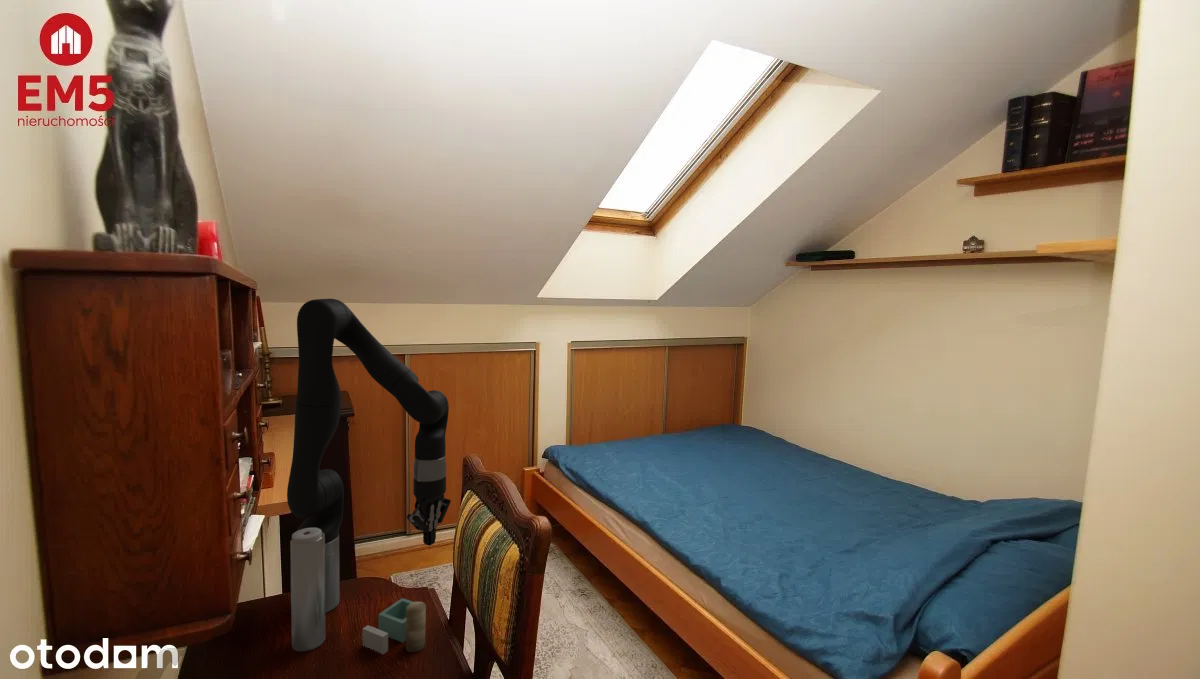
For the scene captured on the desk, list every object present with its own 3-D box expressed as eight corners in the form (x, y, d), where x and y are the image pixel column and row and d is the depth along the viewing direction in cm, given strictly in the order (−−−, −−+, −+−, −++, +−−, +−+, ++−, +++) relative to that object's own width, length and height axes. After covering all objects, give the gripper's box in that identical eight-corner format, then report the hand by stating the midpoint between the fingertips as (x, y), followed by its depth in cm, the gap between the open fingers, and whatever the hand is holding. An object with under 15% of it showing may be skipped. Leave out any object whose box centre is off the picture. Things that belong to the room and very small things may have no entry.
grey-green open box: (378, 633, 118) (378, 614, 117) (402, 615, 124) (402, 597, 124) (402, 642, 115) (402, 623, 114) (425, 624, 121) (425, 606, 121)
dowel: (401, 648, 113) (402, 609, 112) (415, 637, 116) (415, 599, 116) (415, 654, 111) (416, 614, 110) (429, 643, 115) (429, 604, 114)
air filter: (310, 654, 110) (309, 541, 108) (284, 649, 111) (282, 537, 109) (332, 635, 116) (331, 527, 114) (307, 630, 118) (306, 524, 116)
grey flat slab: (362, 646, 113) (362, 628, 113) (367, 642, 114) (367, 625, 114) (383, 654, 111) (383, 636, 110) (388, 650, 112) (388, 633, 112)
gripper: (436, 464, 132) (436, 529, 133) (397, 480, 120) (397, 552, 121) (460, 469, 129) (459, 536, 130) (422, 486, 117) (421, 559, 118)
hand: (429, 543), depth 126 cm, fingers closed
